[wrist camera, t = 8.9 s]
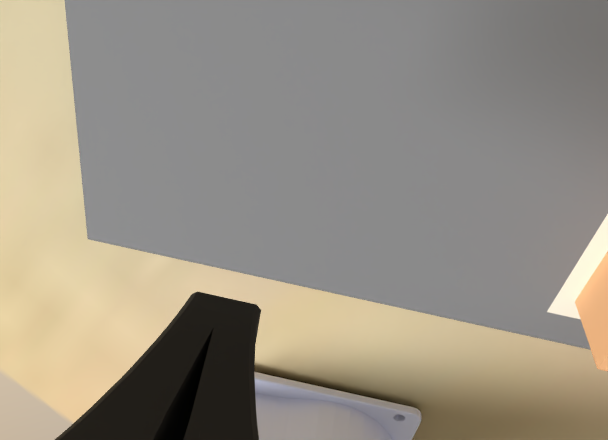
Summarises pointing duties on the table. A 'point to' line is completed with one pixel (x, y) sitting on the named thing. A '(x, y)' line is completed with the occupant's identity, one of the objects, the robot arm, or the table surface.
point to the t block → (596, 313)
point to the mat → (356, 146)
